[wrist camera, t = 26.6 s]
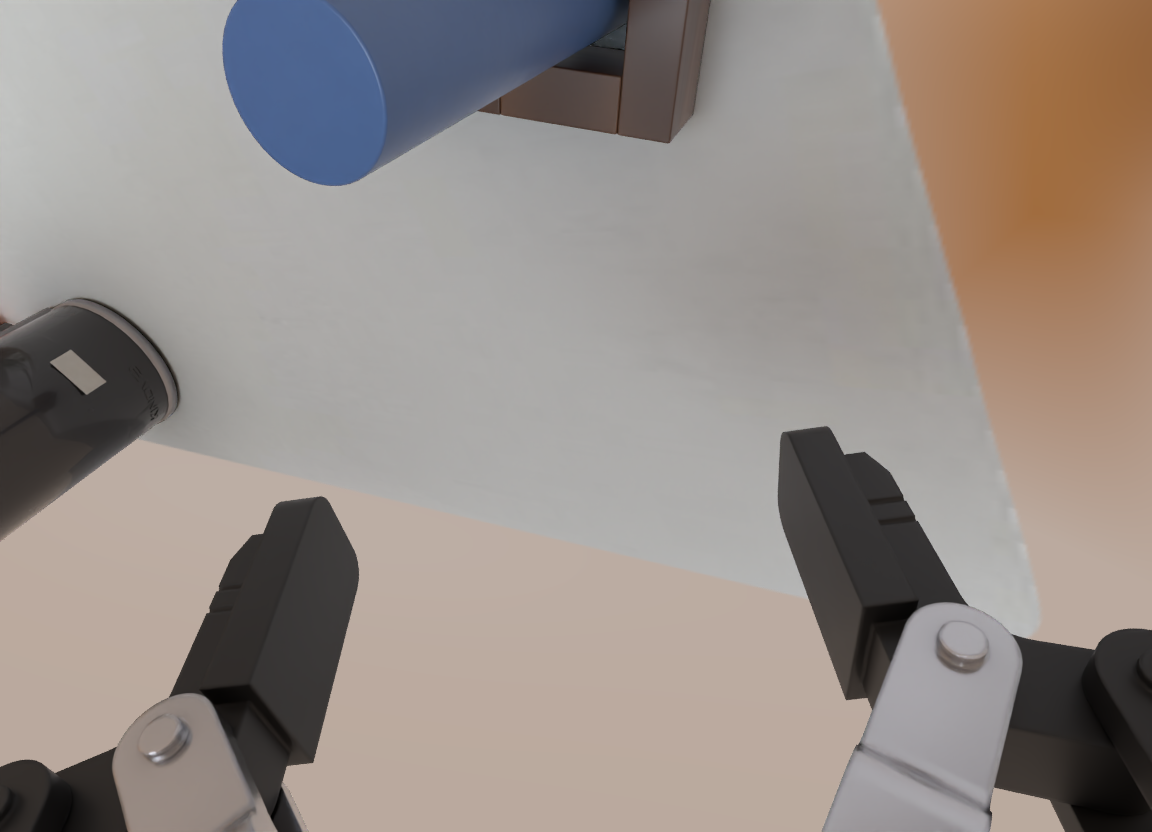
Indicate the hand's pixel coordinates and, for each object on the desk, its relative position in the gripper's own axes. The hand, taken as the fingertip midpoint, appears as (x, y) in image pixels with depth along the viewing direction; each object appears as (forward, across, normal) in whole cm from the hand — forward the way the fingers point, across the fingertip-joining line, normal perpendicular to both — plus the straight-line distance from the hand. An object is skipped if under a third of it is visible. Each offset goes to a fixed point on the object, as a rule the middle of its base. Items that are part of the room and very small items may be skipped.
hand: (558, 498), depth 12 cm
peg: (+19, +3, +6) cm, 20 cm away
